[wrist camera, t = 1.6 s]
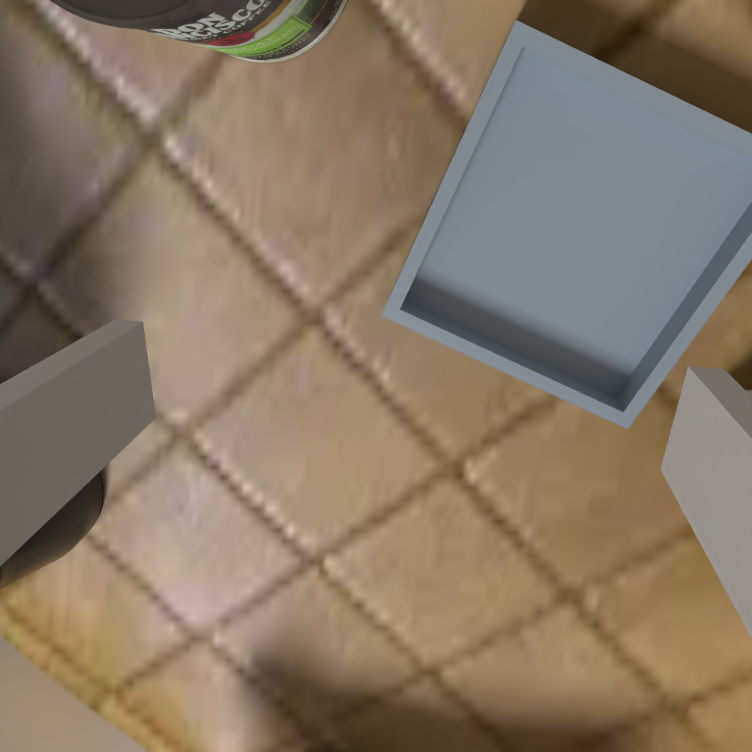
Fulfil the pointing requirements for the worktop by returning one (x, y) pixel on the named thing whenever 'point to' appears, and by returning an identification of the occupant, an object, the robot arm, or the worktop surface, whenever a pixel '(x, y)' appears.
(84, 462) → the robot arm
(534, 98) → the tray
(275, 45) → the coffee can
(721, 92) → the worktop surface
